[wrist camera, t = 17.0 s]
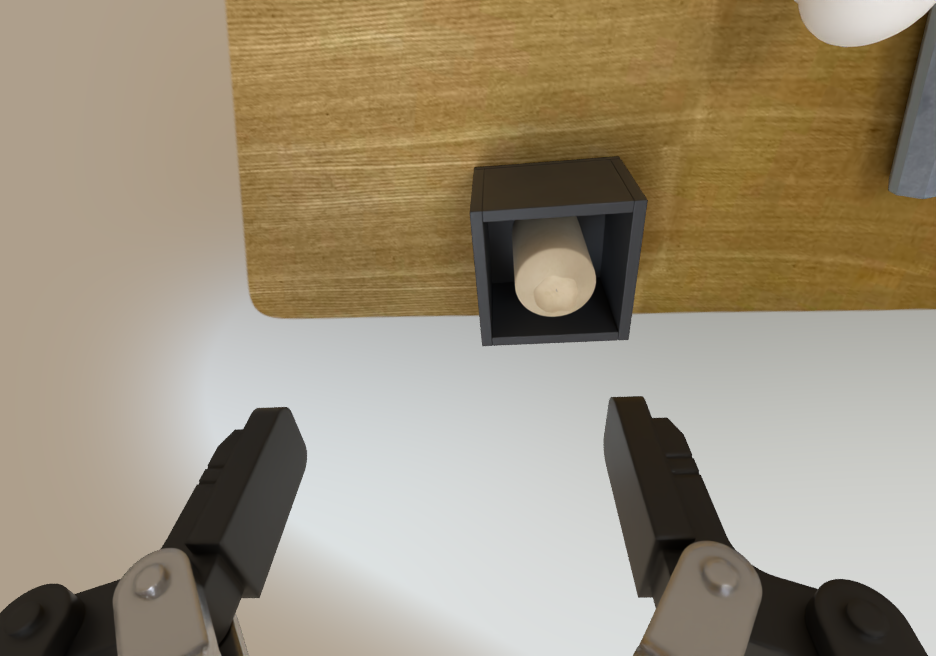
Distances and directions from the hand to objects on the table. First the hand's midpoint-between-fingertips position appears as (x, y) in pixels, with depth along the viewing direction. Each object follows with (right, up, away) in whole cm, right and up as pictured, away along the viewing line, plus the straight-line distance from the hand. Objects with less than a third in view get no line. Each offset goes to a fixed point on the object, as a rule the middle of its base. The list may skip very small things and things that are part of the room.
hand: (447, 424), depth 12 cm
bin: (+7, +11, +28) cm, 31 cm away
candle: (+7, +11, +28) cm, 31 cm away
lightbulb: (+20, +24, +17) cm, 36 cm away
